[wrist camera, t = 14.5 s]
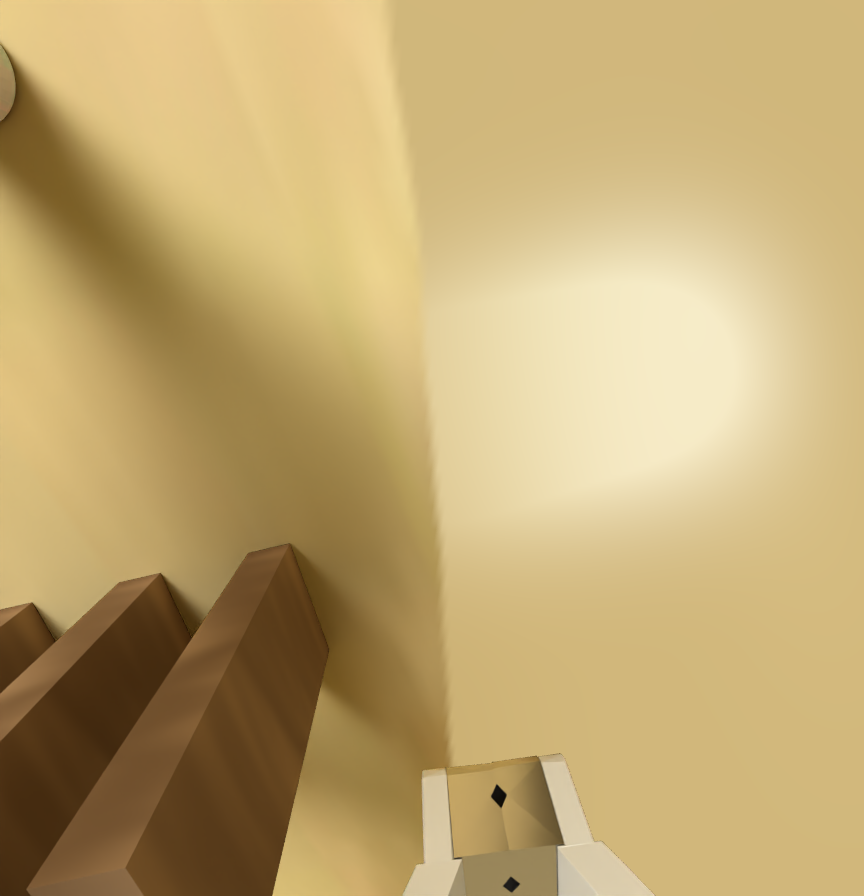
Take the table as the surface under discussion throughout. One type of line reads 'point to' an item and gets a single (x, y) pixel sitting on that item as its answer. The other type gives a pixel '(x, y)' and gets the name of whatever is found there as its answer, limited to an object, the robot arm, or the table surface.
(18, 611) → the domino
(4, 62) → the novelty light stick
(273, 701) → the domino
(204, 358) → the table surface
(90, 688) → the domino
